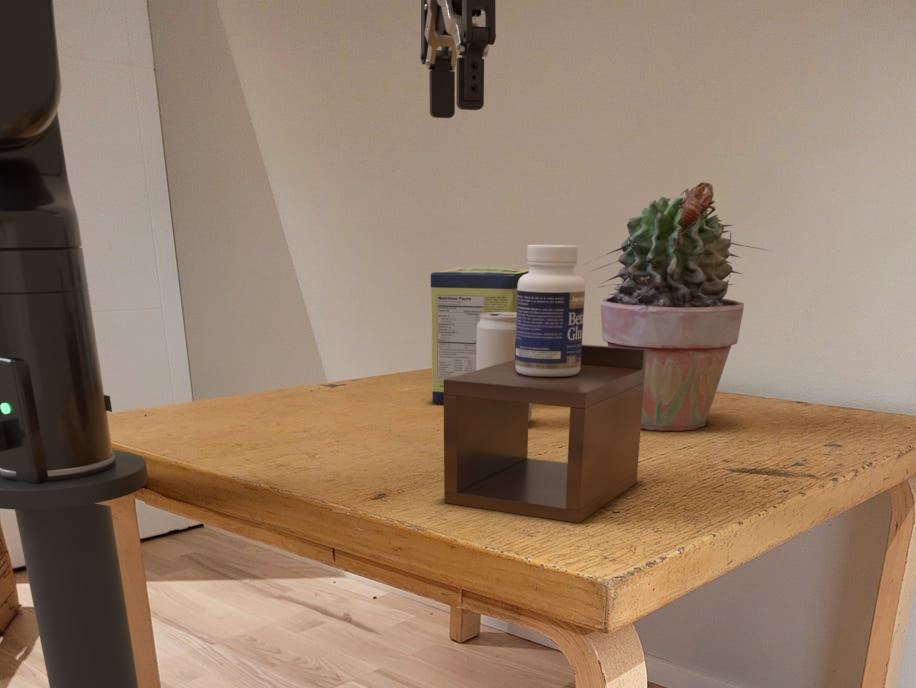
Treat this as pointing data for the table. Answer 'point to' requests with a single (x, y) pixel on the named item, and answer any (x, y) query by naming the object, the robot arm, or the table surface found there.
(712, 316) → the potted plant
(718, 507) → the table surface
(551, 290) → the pill bottle
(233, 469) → the table surface
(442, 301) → the protein box
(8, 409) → the robot arm
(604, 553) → the table surface
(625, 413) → the shelf
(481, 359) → the beverage can
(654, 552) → the table surface
